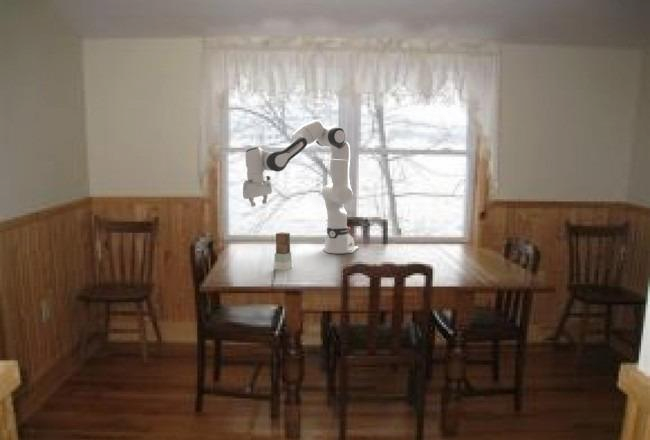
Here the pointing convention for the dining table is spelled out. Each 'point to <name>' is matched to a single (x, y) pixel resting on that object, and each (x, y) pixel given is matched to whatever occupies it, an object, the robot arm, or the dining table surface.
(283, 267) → the tower base
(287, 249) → the walnut pillar
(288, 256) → the tower mid
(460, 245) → the dining table surface
